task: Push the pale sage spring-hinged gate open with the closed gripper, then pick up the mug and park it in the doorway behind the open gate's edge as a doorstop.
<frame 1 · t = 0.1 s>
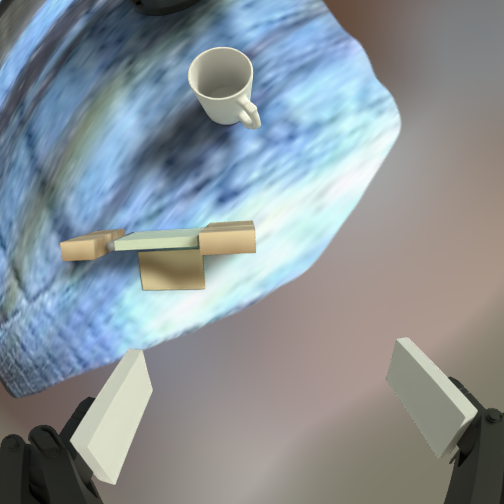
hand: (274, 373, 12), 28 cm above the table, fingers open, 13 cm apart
mug: (234, 113, 35), on the table
gate door: (158, 238, 35), point 4 cm above the table, hinge at 0.0°
gate frame: (164, 233, 39), on the table
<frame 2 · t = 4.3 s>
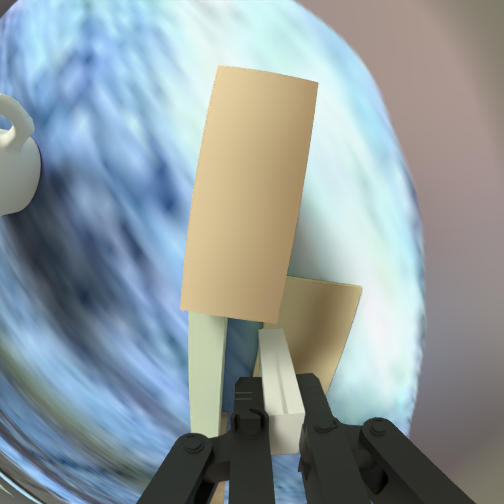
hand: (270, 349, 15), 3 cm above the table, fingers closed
mug: (30, 161, 15), on the table
gate door: (211, 378, 13), point 4 cm above the table, hinge at 3.5°, touching gripper
gate frame: (221, 344, 18), on the table
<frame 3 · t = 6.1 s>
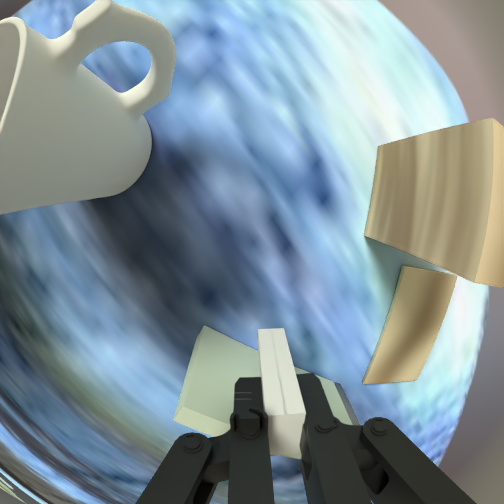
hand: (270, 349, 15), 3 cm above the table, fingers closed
mug: (130, 136, 15), on the table
gate door: (284, 404, 14), point 4 cm above the table, hinge at 69.3°, touching gripper
gate frame: (352, 333, 18), on the table
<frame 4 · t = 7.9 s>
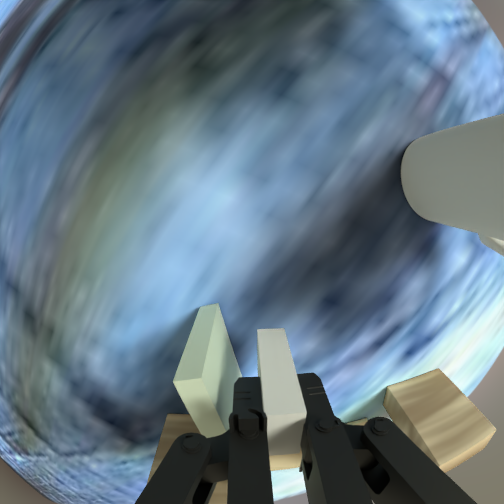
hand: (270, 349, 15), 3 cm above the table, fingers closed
mug: (440, 196, 16), on the table
gate door: (232, 415, 14), point 4 cm above the table, hinge at 97.7°
gate frame: (310, 413, 20), on the table
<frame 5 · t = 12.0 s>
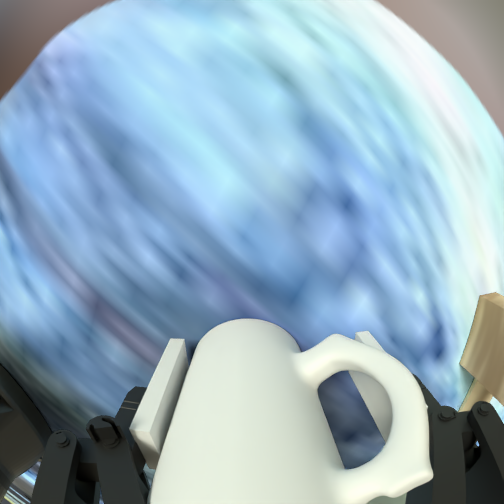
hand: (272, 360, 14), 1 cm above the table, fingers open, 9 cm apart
mug: (270, 348, 15), on the table, touching gripper
gate door: (393, 495, 14), point 4 cm above the table, hinge at 97.7°
gate frame: (441, 417, 17), on the table
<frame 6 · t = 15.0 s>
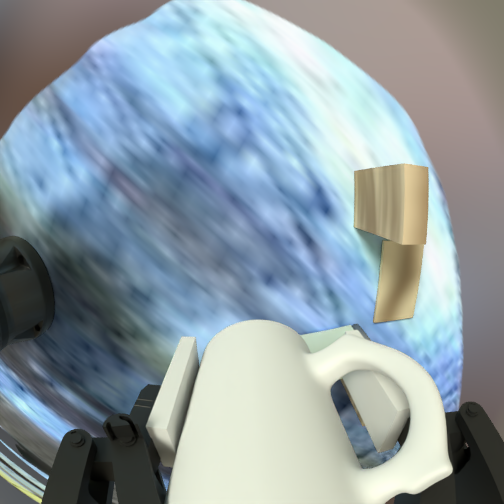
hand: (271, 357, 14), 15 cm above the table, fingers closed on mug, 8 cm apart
mug: (279, 349, 15), point 14 cm above the table, touching gripper
gate door: (320, 356, 26), point 4 cm above the table, hinge at 97.7°
gate frame: (359, 288, 29), on the table
when the fingers open (2 cm above the table, at t = 17.6 s): mug drops 2 cm, on the table.
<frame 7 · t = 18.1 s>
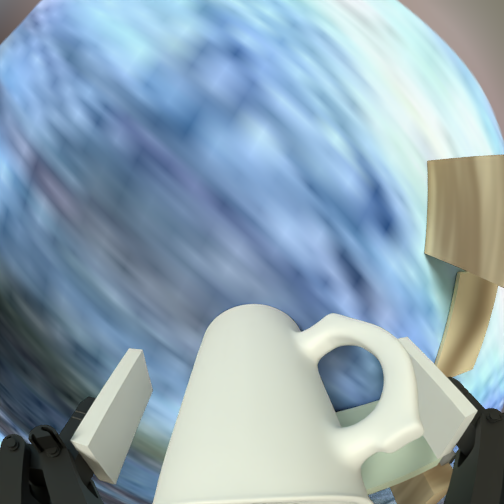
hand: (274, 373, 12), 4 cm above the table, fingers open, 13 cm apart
mug: (273, 332, 16), on the table
gate door: (360, 450, 14), point 4 cm above the table, hinge at 97.7°
gate frame: (419, 344, 17), on the table
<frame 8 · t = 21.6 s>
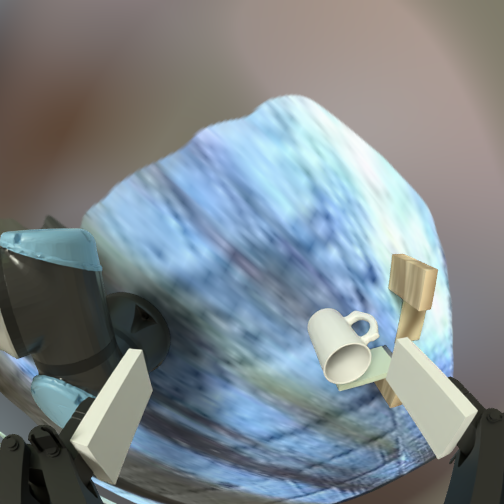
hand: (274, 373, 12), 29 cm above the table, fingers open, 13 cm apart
mug: (332, 318, 43), on the table
gate door: (365, 366, 41), point 4 cm above the table, hinge at 97.7°
gate frame: (388, 324, 44), on the table
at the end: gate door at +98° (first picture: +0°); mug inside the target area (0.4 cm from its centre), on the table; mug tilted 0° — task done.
